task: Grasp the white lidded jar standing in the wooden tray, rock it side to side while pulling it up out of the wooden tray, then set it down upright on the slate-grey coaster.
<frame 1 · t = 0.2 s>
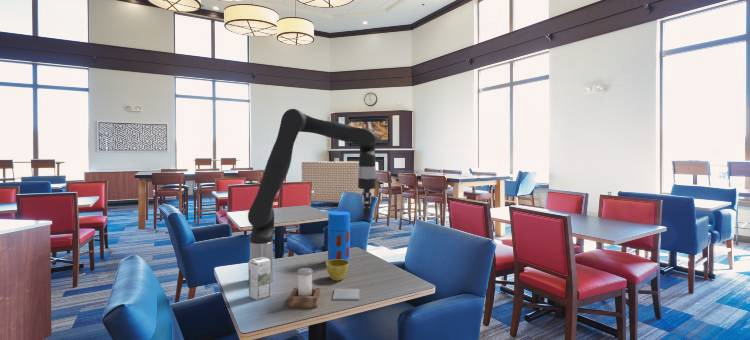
hand: (366, 215, 161), 29 cm above the table, tool pointing down, fingers open, 8 cm apart
white lidded jar: (305, 286, 139), in the wooden tray
syrup box: (259, 297, 144), on the table
wooden tray: (305, 302, 140), on the table
thermos: (338, 262, 190), on the table
flower pot: (337, 279, 166), on the table
coaster: (346, 294, 147), on the table
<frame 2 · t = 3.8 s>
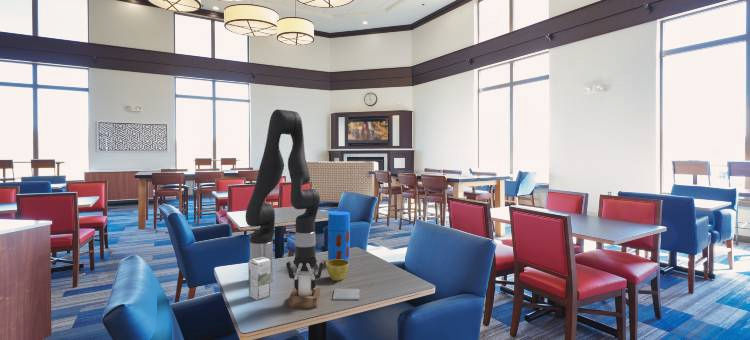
hand: (305, 288, 139), 5 cm above the table, tool pointing down, fingers closed on white lidded jar, 5 cm apart
white lidded jar: (305, 286, 139), in the wooden tray, touching gripper
everything else where it was.
when the fingers open (7 cm above the table, at t = 11.3 s): white lidded jar drops 1 cm, resting on coaster.
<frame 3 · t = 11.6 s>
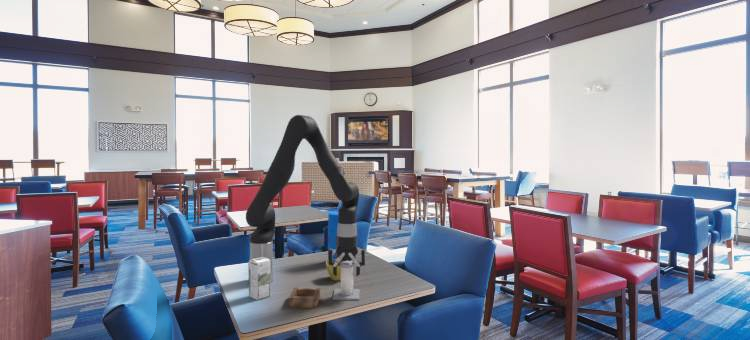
hand: (346, 275, 147), 8 cm above the table, tool pointing down, fingers open, 8 cm apart
white lidded jar: (347, 278, 147), on the coaster, point 7 cm above the table
everything else where it was.
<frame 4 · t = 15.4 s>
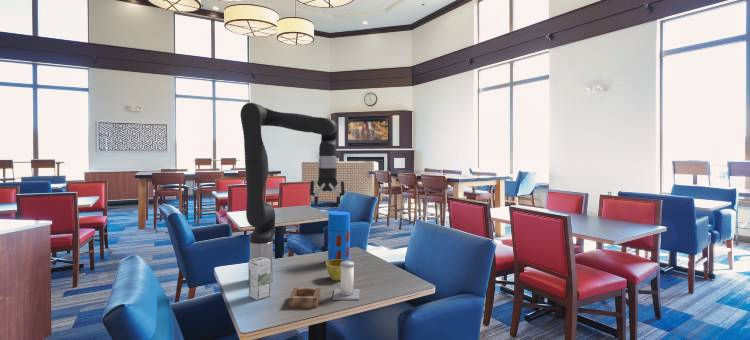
hand: (327, 205, 158), 33 cm above the table, tool pointing down, fingers open, 8 cm apart
nothing on the table moved.
at the end: white lidded jar inside the target area on the coaster (0.1 cm from its centre), point 6.7 cm above the coaster's base; white lidded jar tilted 1°; the gripper is holding nothing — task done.
